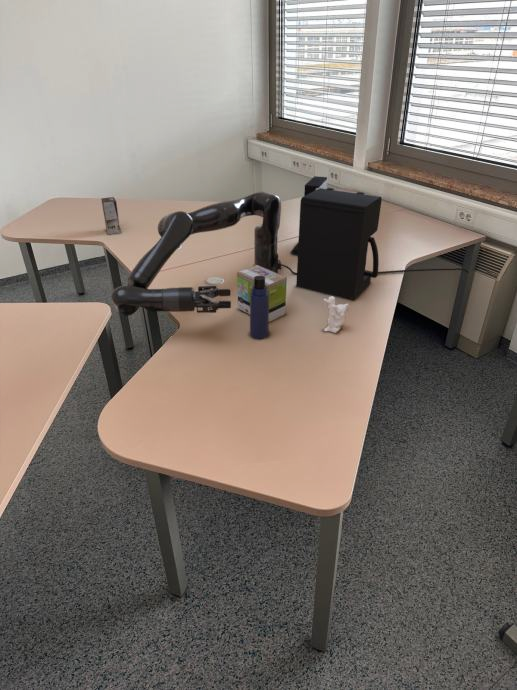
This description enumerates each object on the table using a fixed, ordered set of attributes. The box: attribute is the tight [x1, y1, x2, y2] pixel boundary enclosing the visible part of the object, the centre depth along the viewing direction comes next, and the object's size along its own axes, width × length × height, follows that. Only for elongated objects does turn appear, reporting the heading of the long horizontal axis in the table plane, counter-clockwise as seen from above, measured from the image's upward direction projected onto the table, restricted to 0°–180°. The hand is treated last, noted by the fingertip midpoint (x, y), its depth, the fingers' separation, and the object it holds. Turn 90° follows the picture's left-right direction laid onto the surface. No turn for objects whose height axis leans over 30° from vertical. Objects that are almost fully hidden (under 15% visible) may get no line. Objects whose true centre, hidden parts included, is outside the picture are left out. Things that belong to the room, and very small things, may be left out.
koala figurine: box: [323, 295, 350, 334], centre depth 159 cm, size 8×7×12 cm
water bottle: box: [249, 276, 270, 340], centre depth 154 cm, size 6×6×20 cm
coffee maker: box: [295, 187, 383, 301], centre depth 183 cm, size 28×20×35 cm
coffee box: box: [100, 196, 121, 235], centre depth 244 cm, size 9×6×16 cm
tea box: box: [236, 265, 288, 323], centre depth 169 cm, size 15×10×15 cm
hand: (230, 298), depth 152 cm, fingers open, 8 cm apart
